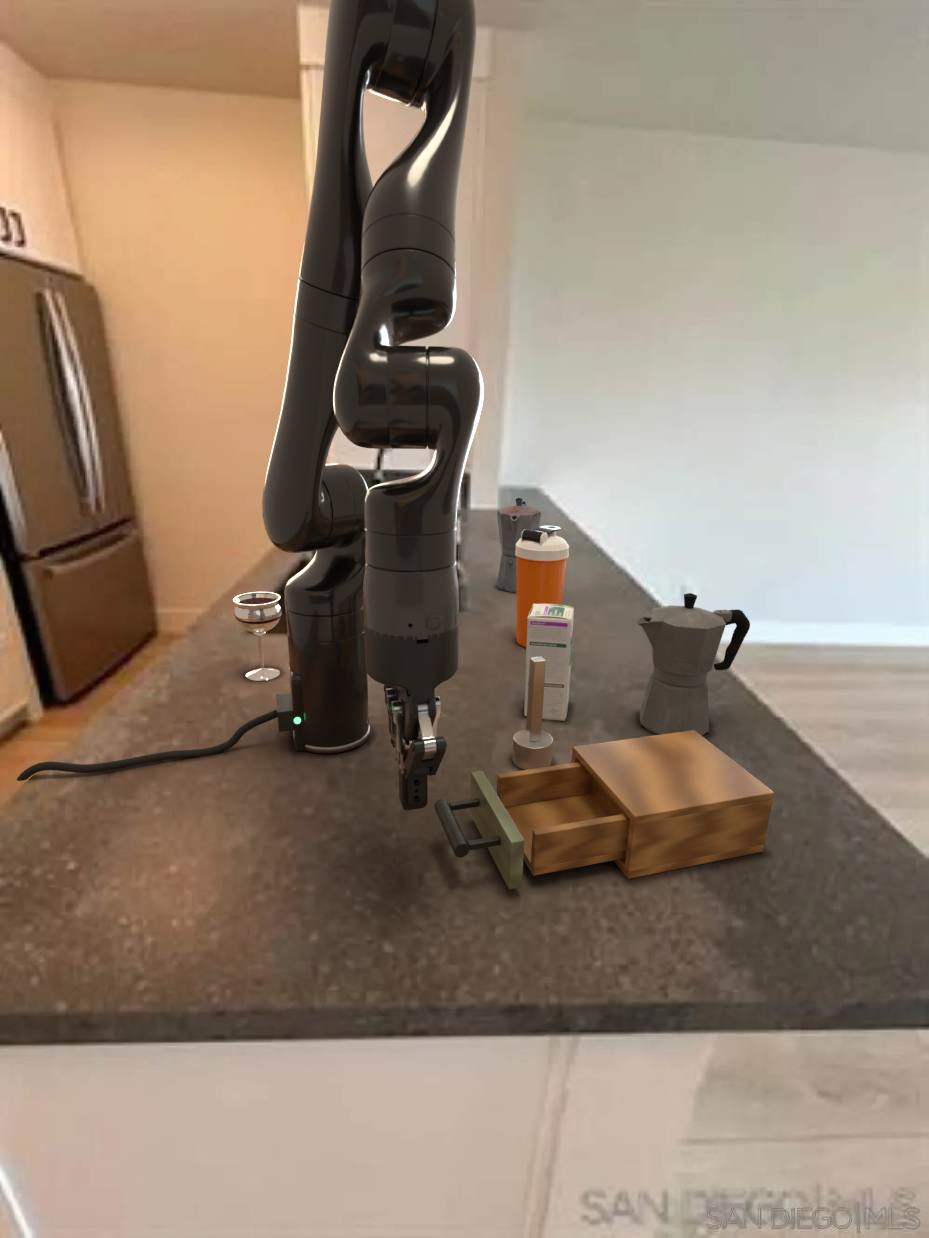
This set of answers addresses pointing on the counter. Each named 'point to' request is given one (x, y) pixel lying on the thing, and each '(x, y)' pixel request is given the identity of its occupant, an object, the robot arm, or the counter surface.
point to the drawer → (539, 821)
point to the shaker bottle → (539, 572)
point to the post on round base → (533, 724)
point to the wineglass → (258, 623)
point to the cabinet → (679, 800)
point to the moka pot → (513, 539)
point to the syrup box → (551, 655)
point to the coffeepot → (685, 663)
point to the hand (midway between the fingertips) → (413, 804)
